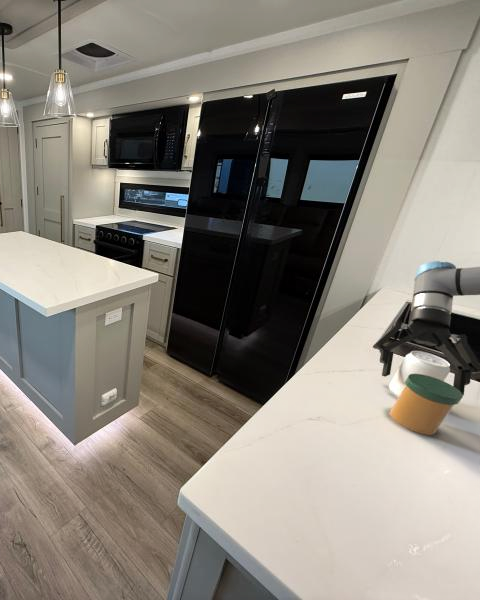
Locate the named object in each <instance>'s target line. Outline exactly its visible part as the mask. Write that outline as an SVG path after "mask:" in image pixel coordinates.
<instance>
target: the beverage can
mask: <svg viewBox="0 0 480 600" xmlns="http://www.w3.org/2000/svg"><path fill="white" fill-rule="evenodd" d="M450 363H451V362H450V361H449V362H448V361H447V359H444V358H442V357H440V356H439V355H435V354H433V353H429V352H426V351H421V350H412V351H410V352H408V353H407V354H406V355H405V356H404V358H403V360H402V362H401V363H400V365H399V367H398V369H397V371H396V372H395V374H394V376H393V378H392V379H391V381H390V383H389V385H388V388H389V389H390V391H391V392H392V393H394V394H395V395H396V396H397V397H399V395H400V393H401V392H402V390H403V388H404V387H405V385H406V384H405V381H406V379H407V377H408V376H409V375H410V374H422V375H427V376H430V377H433V378H436V379H439V380H442V381H444V382H445V380H446V378H447V377H448V375H449V374H450V372H451V364H450Z"/></svg>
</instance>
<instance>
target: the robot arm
mask: <svg viewBox="0 0 480 600" xmlns="http://www.w3.org/2000/svg"><path fill="white" fill-rule="evenodd" d="M456 296H460V297H461V296H462V297H464V296H480V266H472V267H460V268H459V267H457V266H456V264H453V263H452V262H449V261H439V260H434V261H427V262H425V263H423V264H420V265H419V266H418V268H417V270H416V275H415V277H414V286H413V293H412V300H411V305H410V307H411V308H410V312H409V319H408V324H407V323H405V322H404V323H403V321H402V320H399V319H398V320H396V321H395V322H394V323H392V325H391V327H390V330H389V331H387V332H386V333H384V335H383V336H382V337H381V338H380V339H378V340H377V341H376V342H375V343H374V344H373V345H372V348H373V349H375V350H378V351H379V354H380V356H379V363H381V364H383V367H382V371H381V377H384V378H385V377H388V376H390V375H391V371H392V364H393V358H394V353H395V352H394V351H393V350H395V349H396V348H399V347H400V346H403V345H404V344H406V343H409V342H410V341H413V342H415V343H416V344H419V345H420V344H422V345H426V346H428V347H435V348H436V349H437V350H438V351H440V352H441V353H442V354H443V355H444V356H445V357H446V358H447V360H448V361H449V362H450V363H451V364H452V365H453V366H454V367H455V368H456V369H457V370H456V371H454V376H453V385H452V386H454V387H455V388H457V389H458V390H459V391H460V392H461V393H462V394H463V396H464V395H465V386H468V385H470V384H471V380H472V379H471V376H472V374H473V375H477V374H478V373H480V360H478V358H477V356H476V355H475V353H474V351H473V349H472V348H471V346H470V345H469V343H468V336H467V334H465V333H461V334H455V333H451V331H450V328H451V319H452V316H451V315H452V311H453V302H454V301H453V300H454V297H456ZM402 330H405V331H406V332H407V334H408V335H407V336H404V337H401V338H400V339H398V340H397V341H394V342H392V343H390V344H388V345H385V344H386V343H387V342H388V341H389V340H390V339H391V338H392V337H393V336H394V335H395V334H396V333H398V332H399V331H402ZM448 339H450V340H451V342H450V341H449V340H448ZM452 343H453V344H454V346H455V348H454V347H453V346H452Z"/></svg>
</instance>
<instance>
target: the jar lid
mask: <svg viewBox="0 0 480 600" xmlns="http://www.w3.org/2000/svg"><path fill="white" fill-rule="evenodd" d="M405 384H406V386H407V387H408V388H409V389H411V390H412V391H413V392H415V393H417V394H418V395H420V396H422V397H425V398H427V399H429V400H432V401H435V402H438V403H442V404H447V405H454V406H455V405H458V404H459V403H460V401H461V400H462V399H463V397H464V395H463V394H462V393H461V392H460V391H459V390H458V389H457V388H455V387H454V386H453V385H452V384H450V383H448V382H446V381H445V380H444V381H442V380H439V379H436V378H433V377H430V376H427V375H422V374H410V375H409V376H408V377H407V379H406V381H405Z"/></svg>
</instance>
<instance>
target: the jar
mask: <svg viewBox="0 0 480 600" xmlns="http://www.w3.org/2000/svg"><path fill="white" fill-rule="evenodd" d="M454 406H455V405H447V404H442V403H438V402H435V401H432V400H429V399H427V398H425V397H422V396H420V395H418V394H417V393H415V392H413V391H412V390H411V389H409V388H408V387H407V386H406V385H405V387H404V388H403V390H402V392H401V393H400V395H399V396H397V399H396V400H395V402H394V403H393V406H392V407H391V409H390V410H389V415H390V417H391V418H392V420H394V421H395V422H396V423H397V424H399V425H400V426H402V427H404V428H405V429H407V430H410V431H412V432H415V433H417V434H421V435H425V436H431V435H434V434H436V432H437V431H438V429H439V428H440V427H441V425H442V424H443V422H444V421H445V419H446V418H447V416H448V415H449V413H450V412H451V410H452V409H453V407H454Z"/></svg>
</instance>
